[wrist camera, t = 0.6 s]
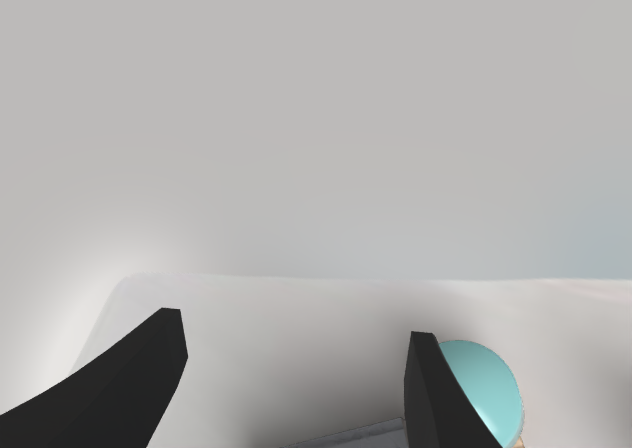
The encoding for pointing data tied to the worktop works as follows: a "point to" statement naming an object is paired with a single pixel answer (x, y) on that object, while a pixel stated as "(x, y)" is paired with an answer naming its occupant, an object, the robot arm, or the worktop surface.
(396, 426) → the player housing
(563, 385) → the worktop surface
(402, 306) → the worktop surface
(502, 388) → the teal dome knob
